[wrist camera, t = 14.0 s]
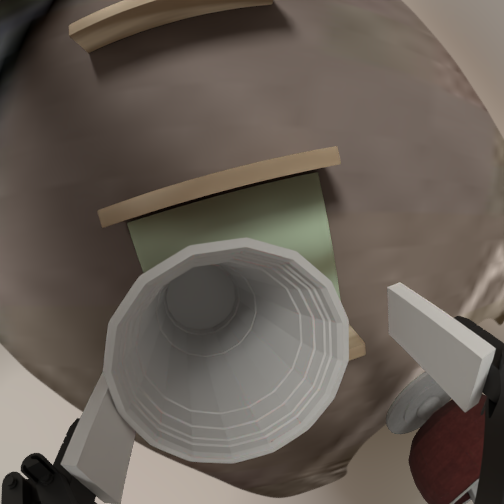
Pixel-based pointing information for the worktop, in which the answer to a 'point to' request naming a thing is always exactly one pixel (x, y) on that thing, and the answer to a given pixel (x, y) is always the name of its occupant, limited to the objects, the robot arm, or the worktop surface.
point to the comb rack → (219, 173)
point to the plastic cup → (226, 350)
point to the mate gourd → (440, 441)
